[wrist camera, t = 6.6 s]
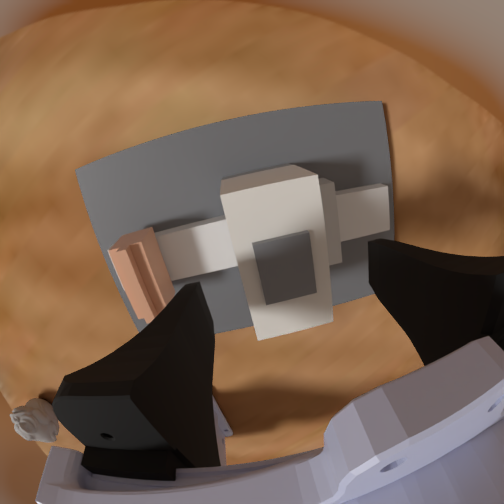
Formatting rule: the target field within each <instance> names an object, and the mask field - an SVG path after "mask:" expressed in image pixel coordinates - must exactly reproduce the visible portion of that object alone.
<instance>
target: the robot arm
mask: <svg viewBox="0 0 504 504" xmlns="http://www.w3.org/2000/svg"><path fill="white" fill-rule="evenodd" d="M368 270H369V284H370V286H371V288H372V289H373V291H374V293H375V294H376V296H377V298H378V299H379V300H380V302H381V303H382V304H383V305H384V307H385V308H386V309H387V310H388V312H389V313H390V314H391V315H392V316H393V318H394V319H395V320H396V321H397V323H398V324H399V325H400V326H401V328H402V329H403V330H404V331H405V333H406V334H407V336H408V337H409V338H410V340H411V342H412V343H413V345H414V347H415V349H416V350H417V352H418V354H419V356H420V358H421V360H422V361H423V363H424V365H425V366H424V367H422V368H420V369H418V370H416V371H414V372H411V373H409V374H407V375H405V376H402V377H400V378H398V379H395V380H393V381H390V382H388V383H385V384H383V385H380V386H378V387H376V388H374V389H372V390H370V391H368V392H367V393H365V394H363V395H361V396H359V397H357V398H355V399H353V400H352V401H350V402H349V403H348V404H347V405H346V406H345V407H343V408H342V409H341V410H340V411H339V412H337V413H336V414H335V415H334V416H333V417H332V419H331V420H330V423H329V425H328V427H327V429H326V431H325V433H324V447H322V448H318V449H314V450H311V451H307V452H303V453H299V454H294V455H290V456H285V457H280V458H275V459H270V460H264V461H258V462H252V463H245V464H237V465H228V466H226V450H225V437H226V436H232V435H233V431H232V429H231V428H230V426H229V424H228V422H227V421H226V419H225V417H224V415H223V413H222V412H221V410H220V408H219V406H218V404H217V402H216V401H215V399H214V397H213V395H212V380H213V364H214V348H215V334H214V322H213V319H212V316H211V313H210V310H209V307H208V304H207V301H206V299H205V296H204V293H203V290H202V287H201V284H200V281H199V282H194V283H189V284H185V285H184V286H183V287H182V288H181V289H180V290H179V292H178V293H177V294H176V295H175V296H174V297H173V299H172V300H171V301H170V302H169V303H168V304H167V305H166V307H165V308H164V309H163V310H162V311H161V312H160V313H159V314H158V315H157V316H156V317H155V318H154V319H153V320H152V321H151V322H150V323H149V324H148V325H147V326H146V327H145V328H144V329H143V330H142V331H141V332H139V333H138V334H137V335H136V336H135V337H133V338H132V339H131V340H130V341H128V342H127V343H125V344H124V345H122V346H121V347H120V348H118V349H117V350H115V351H114V352H112V353H111V354H109V355H107V356H106V357H104V358H102V359H100V360H99V361H97V362H95V363H93V364H91V365H89V366H87V367H85V368H82V369H80V370H78V371H76V372H73V373H71V374H68V375H66V376H64V378H63V380H62V383H61V385H60V387H59V389H58V391H57V394H56V396H55V398H54V400H53V403H52V408H53V411H54V413H55V415H56V417H57V419H58V420H59V421H60V422H61V423H62V425H63V426H64V427H65V428H66V429H67V430H69V431H70V432H71V433H72V434H73V435H74V436H75V437H76V438H77V439H78V440H79V441H80V442H81V443H83V444H84V445H85V446H86V447H85V451H84V454H83V453H81V452H79V451H77V450H73V449H68V448H62V447H57V446H51V449H50V452H49V455H48V458H47V461H46V465H45V468H44V471H43V474H42V478H41V481H40V485H39V489H38V492H37V496H36V500H35V501H36V502H37V504H504V256H499V257H476V256H462V255H455V254H448V253H442V252H438V251H433V250H429V249H424V248H420V247H417V246H413V245H409V244H405V243H401V242H397V241H393V240H389V239H381V238H379V239H375V240H371V241H368Z"/></svg>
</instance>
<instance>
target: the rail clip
mask: <svg viewBox="0 0 504 504" xmlns="http://www.w3.org/2000/svg"><path fill="white" fill-rule="evenodd" d="M108 252H109V254H110V257H111V259H112V262H113V264H114V266H115V269H116V271H117V274H118V276H119V278H120V281H121V283H122V285H123V287H124V290H125V292H126V294H127V296H128V299H129V301H130V303H131V305H132V307H133V309H134V311H135V313H136V315H137V317H138V319H143V318H144V319H145V321H146V323H147V324H148V323H150V322H151V321H152V320H153V319H154V318H155V317H156V316H157V315H158V314H159V313H160V312H161V311H162V310H163V309H164V308H165V307H166V305H167V304H168V303H169V302H170V301H171V300H172V299H173V297H174V295H175V289H174V287H173V284H172V281H171V279H170V276H169V273H168V271H167V268H166V265H165V262H164V260H163V257H162V254H161V251H160V248H159V245H158V242H157V239H156V236H155V233H154V230H153V227H150V228H146V229H142V230H139V231H135V232H132V233H128V234H125V235H122V236H121V237H120V238H119V239H118V241H117V242H116V243H115V244H114V245H113V246H112V247H111V248H110V249H109V250H108Z"/></svg>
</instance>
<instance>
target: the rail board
mask: <svg viewBox="0 0 504 504" xmlns="http://www.w3.org/2000/svg"><path fill="white" fill-rule="evenodd" d="M287 163H289V164H292V165H296V166H299V167H301V168H304V169H306V170H308V171H311V172H313V173H315V174H318V180H319V186H320V193H321V200H322V207H323V215H324V222H325V231H326V239H327V248H328V258H329V269H330V280H331V293H332V306H334V305H338V304H342V303H345V302H348V301H352V300H355V299H359V298H362V297H365V296H369V295H372V294H375V293H374V291H373V289H372V288H371V286H370V284H369V270H368V241H371V240H375V239H379V238H381V239H389V240H393V241H394V203H393V186H392V173H391V162H390V153H389V145H388V137H387V130H386V123H385V117H384V111H383V105H382V101H365V102H347V103H334V104H323V105H314V106H305V107H297V108H290V109H283V110H277V111H271V112H265V113H259V114H254V115H248V116H243V117H238V118H234V119H229V120H225V121H220V122H216V123H212V124H208V125H204V126H200V127H196V128H192V129H188V130H185V131H181V132H178V133H174V134H171V135H168V136H164V137H161V138H158V139H155V140H152V141H148V142H145V143H142V144H139V145H137V146H134V147H131V148H128V149H125V150H123V151H120V152H117V153H115V154H112V155H109V156H107V157H104V158H102V159H99V160H97V161H94V162H92V163H90V164H87V165H85V166H82V167H80V168H78V169H76V170H75V172H76V175H77V179H78V182H79V186H80V189H81V193H82V196H83V199H84V202H85V205H86V209H87V212H88V215H89V217H90V220H91V223H92V226H93V229H94V232H95V234H96V237H97V240H98V242H99V245H100V248H101V250H102V253H103V255H104V258H105V260H106V263H107V265H108V268H109V270H110V272H111V275H112V277H113V279H114V281H115V284H116V286H117V288H118V290H119V293H120V295H121V297H122V299H123V301H124V303H125V305H126V307H127V310H128V312H129V314H130V316H131V318H132V320H133V322H134V324H135V326H136V327H137V329H138V331H139V332H141V331H142V330H143V329H144V328H145V327H146V326H147V325H148V324H149V323H148V324H147V323H146V321H145V319H144V318H143V319H138V317H137V315H136V313H135V311H134V309H133V307H132V305H131V303H130V301H129V299H128V296H127V294H126V292H125V290H124V287H123V285H122V283H121V281H120V278H119V276H118V274H117V271H116V269H115V266H114V264H113V262H112V259H111V257H110V254H109V252H108V250H109V249H110V248H111V247H112V246H113V245H114V244H115V243H116V242H117V241H118V239H119V238H120V237H121V236H122V235H125V234H128V233H132V232H135V231H139V230H142V229H146V228H150V227H153V230H154V233H155V236H156V239H157V242H158V245H159V248H160V251H161V254H162V257H163V260H164V262H165V265H166V268H167V271H168V273H169V276H170V279H171V281H172V284H173V287H174V289H175V295H176V294H177V293H178V292H179V290H180V289H181V288H182V287H183V286H184V285H185V284H189V283H194V282H199V281H200V284H201V287H202V290H203V293H204V296H205V299H206V301H207V304H208V307H209V310H210V313H211V316H212V319H213V322H214V334H216V333H221V332H226V331H231V330H236V329H241V328H245V327H250V326H254V324H253V321H252V317H251V313H250V309H249V306H248V302H247V298H246V295H245V291H244V287H243V283H242V279H241V276H240V272H239V268H238V264H237V260H236V256H235V253H234V249H233V245H232V241H231V237H230V233H229V229H228V225H227V221H226V217H225V214H224V210H223V206H222V202H221V198H220V189H221V180H222V177H226V176H231V175H235V174H239V173H244V172H248V171H253V170H257V169H262V168H267V167H272V166H277V165H282V164H287ZM175 295H174V296H175Z"/></svg>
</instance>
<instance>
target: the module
mask: <svg viewBox="0 0 504 504" xmlns="http://www.w3.org/2000/svg"><path fill="white" fill-rule="evenodd" d="M220 198H221V202H222V206H223V210H224V214H225V217H226V221H227V225H228V229H229V233H230V237H231V241H232V245H233V249H234V253H235V256H236V260H237V264H238V268H239V272H240V276H241V279H242V283H243V287H244V291H245V295H246V298H247V302H248V306H249V309H250V313H251V317H252V321H253V324H254V328H255V332H256V335H257V339H258V340H263V339H267V338H272V337H276V336H280V335H284V334H288V333H292V332H296V331H300V330H304V329H308V328H311V327H315V326H319V325H322V324H326V323H329V322H333V307H332V293H331V280H330V269H329V258H328V248H327V239H326V231H325V222H324V215H323V207H322V200H321V193H320V186H319V180H318V174H315V173H313V172H311V171H308V170H306V169H304V168H301V167H299V166H296V165H292V164H289V163H287V164H282V165H277V166H272V167H267V168H262V169H257V170H253V171H248V172H244V173H239V174H235V175H231V176H226V177H222V180H221V189H220Z"/></svg>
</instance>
